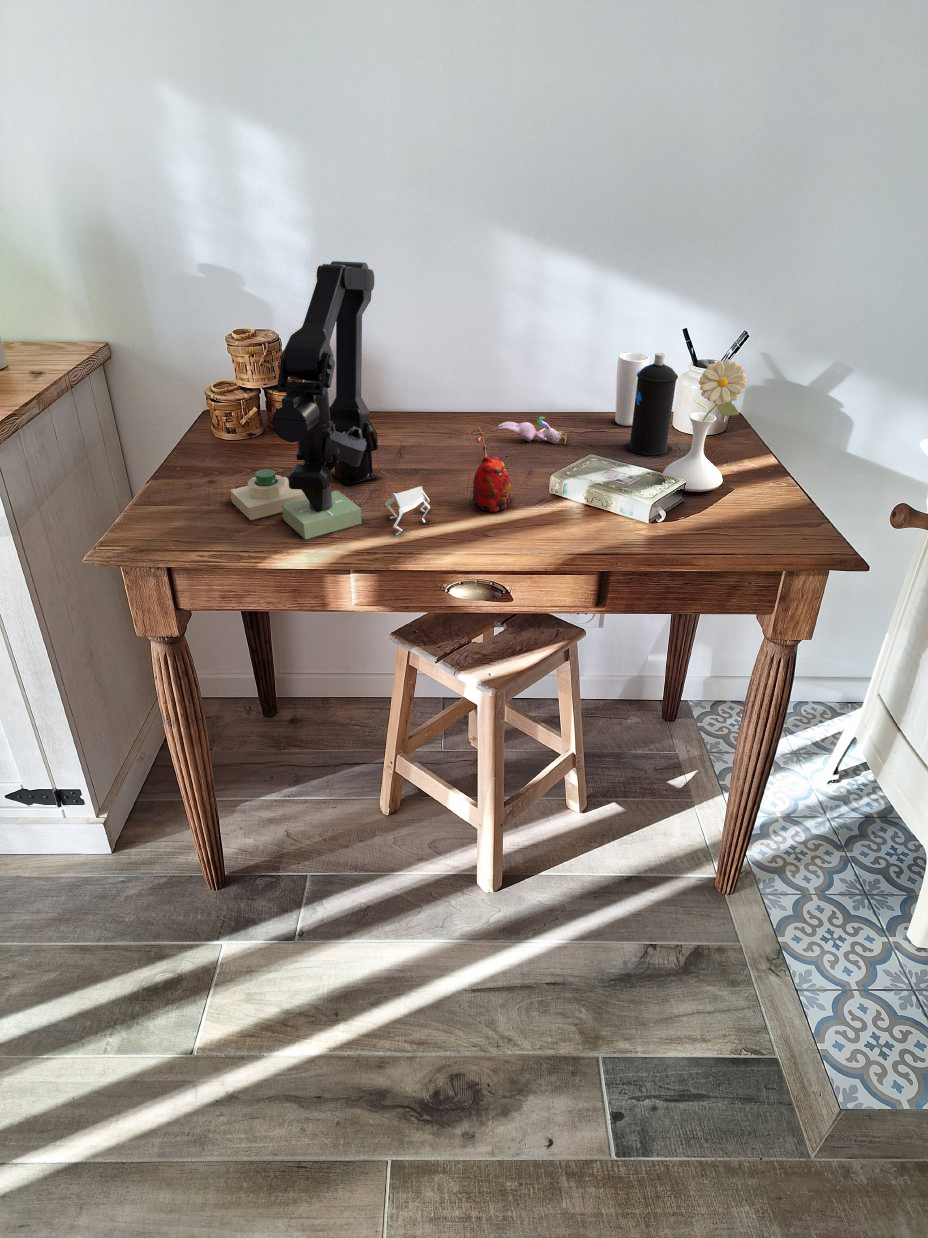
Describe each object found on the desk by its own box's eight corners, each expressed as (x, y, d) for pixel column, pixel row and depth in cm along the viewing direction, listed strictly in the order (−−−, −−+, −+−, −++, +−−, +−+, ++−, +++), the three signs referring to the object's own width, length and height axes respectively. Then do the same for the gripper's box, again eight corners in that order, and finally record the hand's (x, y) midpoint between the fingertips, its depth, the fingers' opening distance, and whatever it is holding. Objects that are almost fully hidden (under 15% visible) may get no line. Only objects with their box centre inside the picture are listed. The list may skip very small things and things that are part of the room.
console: (338, 505, 157) (337, 489, 155) (361, 523, 151) (360, 507, 149) (283, 519, 152) (281, 503, 150) (305, 539, 145) (303, 523, 144)
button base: (286, 488, 163) (284, 466, 160) (306, 505, 157) (304, 483, 154) (231, 502, 158) (228, 479, 155) (250, 520, 151) (247, 497, 149)
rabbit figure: (563, 442, 187) (496, 429, 186) (570, 416, 184) (502, 403, 183) (564, 453, 182) (495, 440, 181) (570, 427, 178) (500, 413, 178)
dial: (304, 506, 149) (302, 483, 147) (322, 499, 152) (320, 476, 149) (319, 513, 147) (317, 490, 145) (337, 505, 150) (335, 483, 147)
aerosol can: (673, 446, 182) (687, 352, 171) (658, 459, 176) (672, 362, 165) (637, 438, 185) (648, 345, 175) (622, 450, 180) (632, 355, 169)
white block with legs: (387, 508, 156) (385, 483, 153) (432, 509, 155) (432, 484, 153) (378, 539, 146) (377, 513, 143) (427, 540, 145) (426, 514, 143)
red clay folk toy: (503, 516, 153) (506, 437, 145) (466, 511, 155) (467, 432, 147) (514, 499, 159) (517, 422, 151) (478, 494, 161) (479, 417, 153)
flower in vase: (649, 485, 165) (667, 356, 151) (680, 468, 172) (700, 343, 158) (710, 505, 158) (734, 371, 144) (739, 487, 165) (765, 357, 151)
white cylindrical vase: (611, 426, 191) (618, 360, 183) (611, 416, 197) (618, 351, 189) (641, 428, 190) (650, 361, 182) (641, 418, 196) (649, 352, 188)
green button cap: (271, 477, 157) (270, 467, 156) (279, 484, 154) (278, 474, 153) (253, 482, 155) (251, 471, 154) (261, 489, 153) (259, 478, 152)
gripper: (353, 441, 133) (359, 531, 141) (368, 402, 149) (372, 484, 157) (283, 440, 133) (293, 529, 142) (304, 401, 149) (312, 483, 157)
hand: (320, 505), depth 149 cm, fingers closed on dial, 4 cm apart
